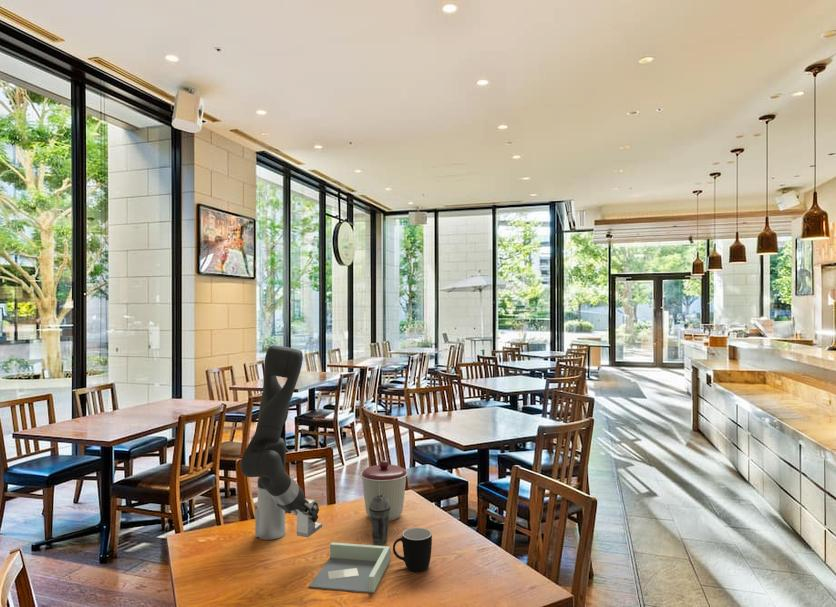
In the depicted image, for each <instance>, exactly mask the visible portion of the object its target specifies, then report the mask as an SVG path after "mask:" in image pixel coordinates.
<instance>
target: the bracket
mask: <svg viewBox="0 0 836 607" xmlns="http://www.w3.org/2000/svg"><path fill="white" fill-rule="evenodd" d="M305 499H306V500H307V501H308V502H309V503H310V504H314V502H316V499H315V500H314V499H309V498H305ZM309 513H310V510H309ZM322 528H323V523H321V522H317V521H316V522H313V521H312V520H311V519H310V518H309V517H308V516H307V515H303V514H301V513H300V512H297V515H296V536H298V537H303V538H310V537H311V536H312V535H313V534H315V533H316V532H318V531H320V529H322Z"/></svg>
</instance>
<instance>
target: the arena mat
mask: <svg viewBox="0 0 836 607" xmlns="http://www.w3.org/2000/svg"><path fill="white" fill-rule="evenodd" d="M376 562H377V561H368V560H355V559H342V558H330V557H329V559H327V561H326V563H325V564H324V565H323V566H322V568H321V569H320V570H319V571H318V573H317V574H316V575H315V577H314V579H313V580H312V581H311V582H310V584H309V585H308V589H320V590H321V589H322V590H332V591H341V592H342V591H343V592H352V593H353V592H354V593H356V592H357V593H365V594H374V593H373V592H372V593H371V592H370V593H369V575H370V573H371V571H372V570H373V568H374V566H375V564H376ZM390 563H391V560H390V561H389V563H388V565H387V567H386V569H385V570H386V571H387V569H388V566H389V565H390ZM386 571H384V572H386ZM384 575H385V573H383V575H382V578H383V577H384ZM382 578H381V579H380V580H381V581H382ZM381 581H380V582H379V583H378V585H377V588H378V586H379V585H380V583H381ZM377 588H376V590H375V591H374V592H376V591H377Z"/></svg>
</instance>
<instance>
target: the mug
mask: <svg viewBox="0 0 836 607" xmlns="http://www.w3.org/2000/svg"><path fill="white" fill-rule="evenodd" d="M399 542H401V543H402V550H403V552H402V553H403V556H401V555H400V554H398V552H397V550H396V546H397V543H399ZM432 545H433V533H432V531H431V530H430V529H428V528H424V527H410V528H408V529H407V528H406V529H405V530H404V531H403V532H402V535H401V537H399V538H397V539H396V540H395V541H394V542H393V545H392V553H393V555H394V556H395V557H396V558H397V559H399V560H402V561H403V562H404V565H405V566H406V569H407V570H408V571H410V572H413V573H422V572H425V571H427V569H429V566H430V564H431V563H430V562H431V559H432V557H431V556H432Z"/></svg>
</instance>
